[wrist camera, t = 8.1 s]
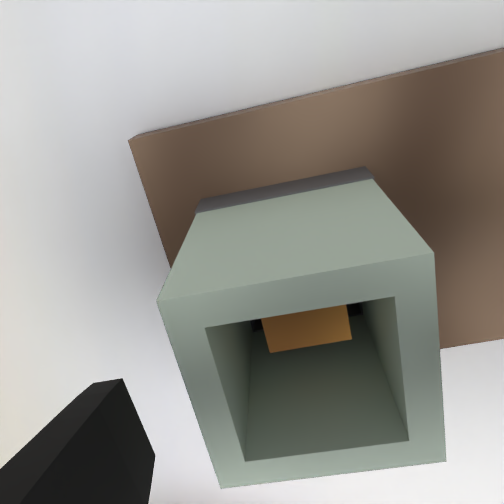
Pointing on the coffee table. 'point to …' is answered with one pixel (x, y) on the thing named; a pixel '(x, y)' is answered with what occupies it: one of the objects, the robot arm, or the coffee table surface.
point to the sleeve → (313, 357)
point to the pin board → (382, 168)
